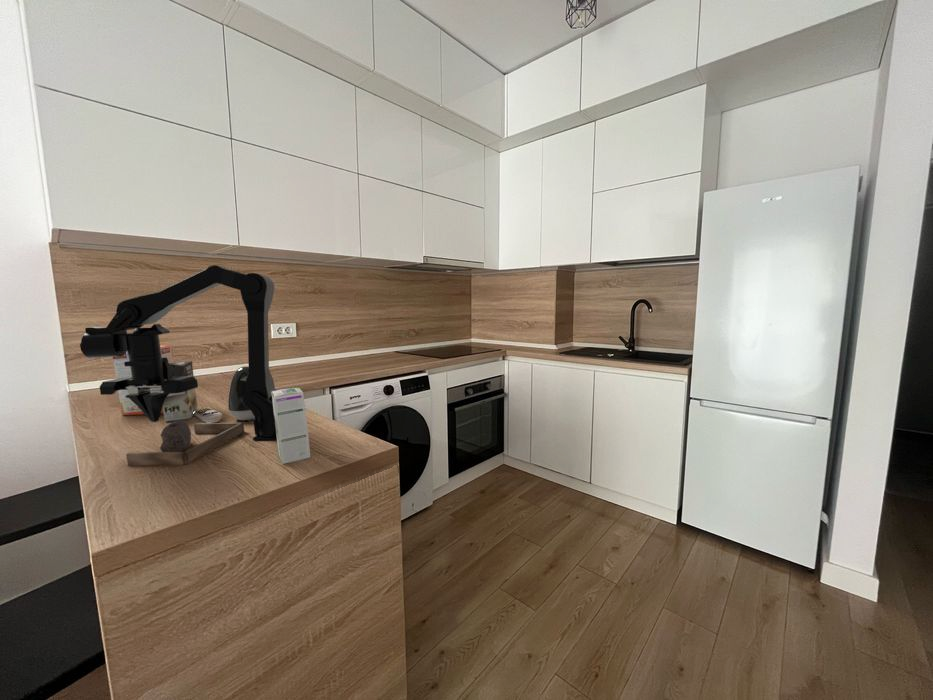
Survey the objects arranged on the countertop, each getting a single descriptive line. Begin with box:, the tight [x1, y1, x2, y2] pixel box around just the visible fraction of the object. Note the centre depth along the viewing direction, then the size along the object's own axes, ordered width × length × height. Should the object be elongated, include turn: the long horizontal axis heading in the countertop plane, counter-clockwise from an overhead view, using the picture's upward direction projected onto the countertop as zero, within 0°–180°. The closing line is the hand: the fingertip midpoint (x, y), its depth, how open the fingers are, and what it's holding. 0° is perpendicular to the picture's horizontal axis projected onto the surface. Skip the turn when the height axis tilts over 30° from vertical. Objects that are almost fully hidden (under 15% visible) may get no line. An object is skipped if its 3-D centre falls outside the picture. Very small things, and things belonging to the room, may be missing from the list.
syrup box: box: [272, 387, 311, 465], centre depth 80 cm, size 6×6×14 cm
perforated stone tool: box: [159, 420, 192, 452], centre depth 86 cm, size 15×5×7 cm, turn 31°
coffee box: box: [163, 360, 199, 423], centre depth 112 cm, size 9×6×16 cm
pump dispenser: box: [227, 365, 255, 422], centre depth 109 cm, size 10×10×15 cm
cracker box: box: [112, 344, 175, 416], centre depth 118 cm, size 14×6×21 cm, turn 92°
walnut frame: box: [125, 422, 245, 466], centre depth 88 cm, size 13×19×2 cm, turn 178°
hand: (155, 421), depth 88 cm, fingers closed
